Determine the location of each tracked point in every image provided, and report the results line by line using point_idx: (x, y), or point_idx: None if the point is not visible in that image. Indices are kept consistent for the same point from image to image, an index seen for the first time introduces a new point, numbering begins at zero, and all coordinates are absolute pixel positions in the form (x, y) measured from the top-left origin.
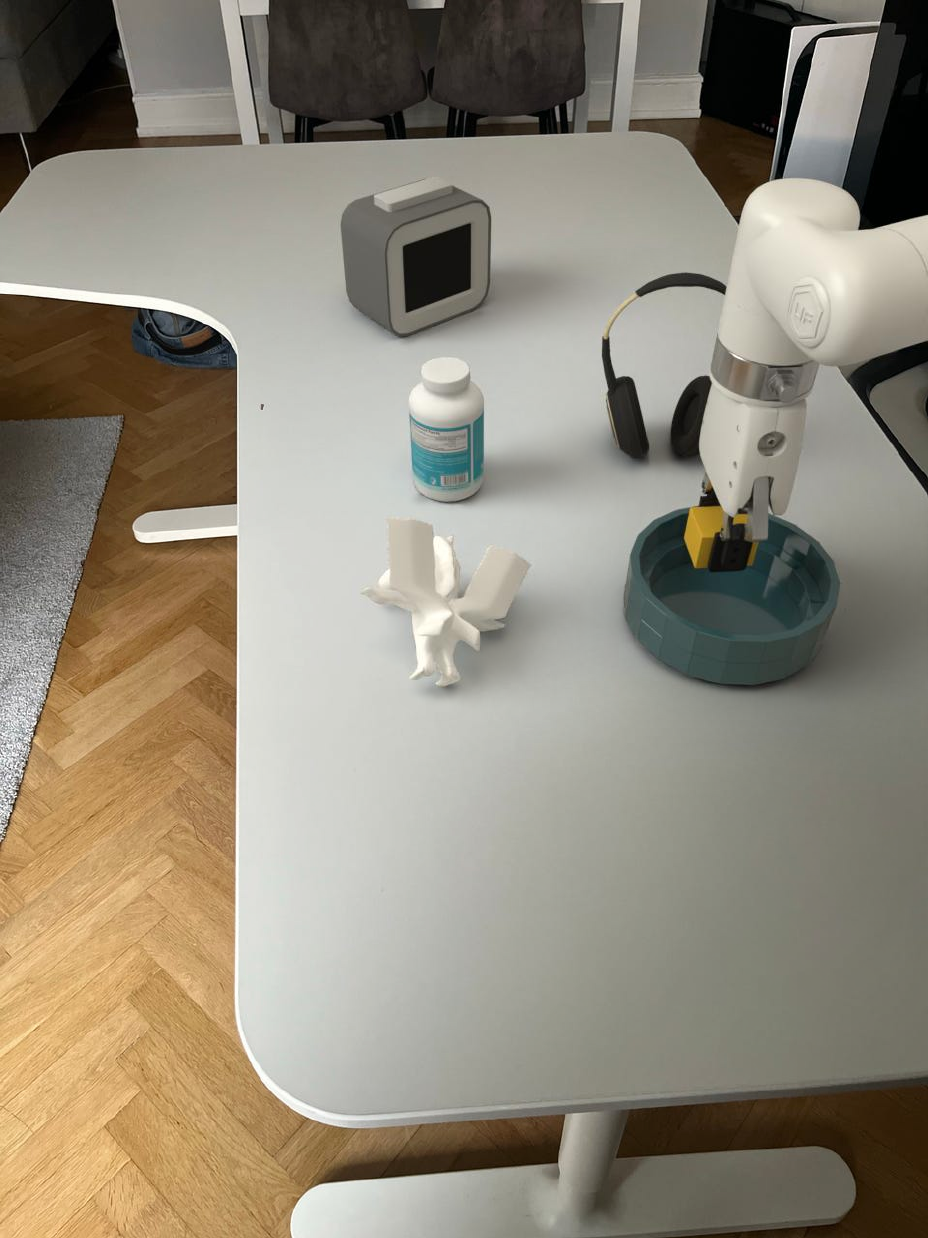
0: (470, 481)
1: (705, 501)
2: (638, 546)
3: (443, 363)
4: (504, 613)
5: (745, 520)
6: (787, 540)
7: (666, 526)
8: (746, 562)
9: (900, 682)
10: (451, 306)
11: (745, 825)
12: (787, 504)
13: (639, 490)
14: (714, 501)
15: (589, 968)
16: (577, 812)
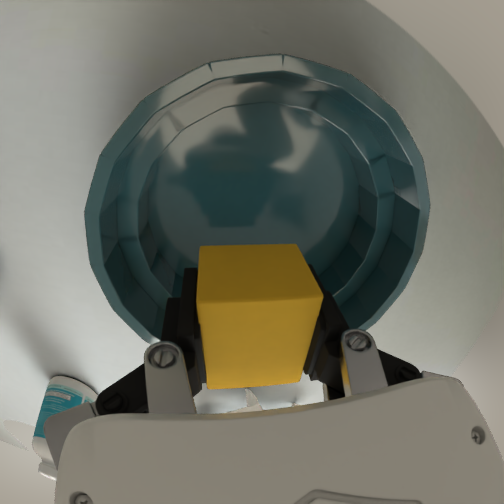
0: (85, 399)
1: (202, 382)
2: None
3: (49, 477)
4: (257, 406)
5: (265, 318)
6: (166, 109)
7: (145, 318)
8: (315, 273)
9: (396, 41)
10: None
11: (461, 254)
12: (477, 407)
13: (25, 259)
14: (204, 372)
15: (463, 331)
16: (408, 342)
